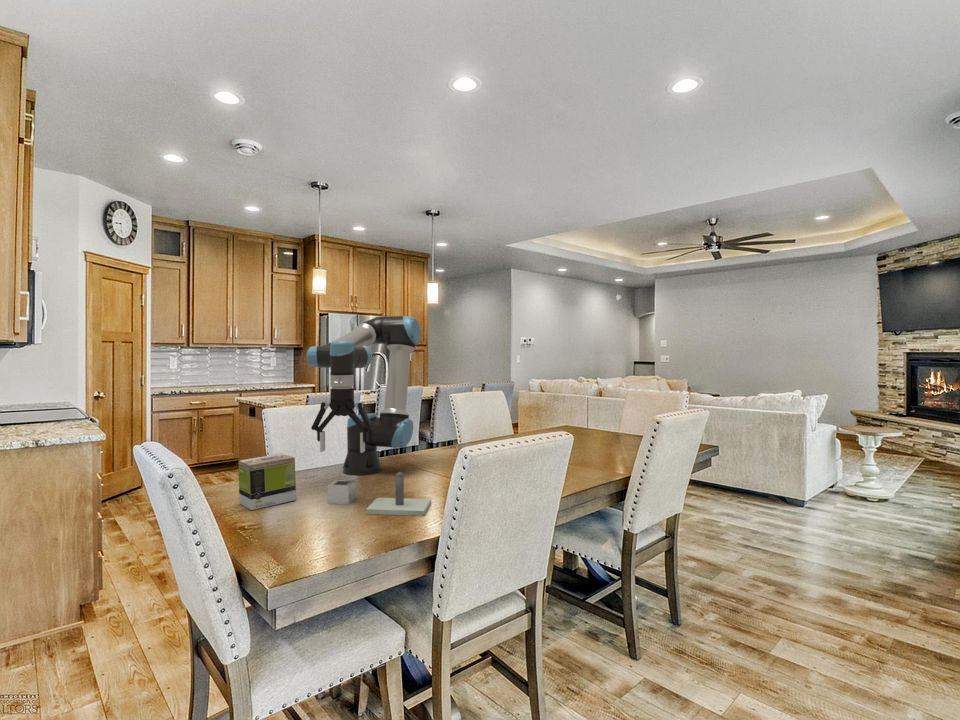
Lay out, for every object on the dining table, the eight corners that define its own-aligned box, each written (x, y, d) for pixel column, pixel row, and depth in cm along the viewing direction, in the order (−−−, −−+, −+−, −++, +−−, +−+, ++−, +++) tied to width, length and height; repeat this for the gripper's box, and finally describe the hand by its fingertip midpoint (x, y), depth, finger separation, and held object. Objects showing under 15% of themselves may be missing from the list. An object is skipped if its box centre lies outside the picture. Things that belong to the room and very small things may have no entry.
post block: (377, 502, 172) (377, 466, 172) (430, 503, 171) (431, 468, 170) (366, 513, 160) (366, 476, 160) (423, 515, 159) (423, 477, 158)
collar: (335, 497, 177) (335, 479, 177) (355, 498, 176) (355, 480, 176) (327, 503, 170) (327, 485, 170) (348, 504, 170) (348, 486, 169)
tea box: (283, 494, 180) (283, 452, 180) (296, 501, 173) (296, 457, 172) (238, 504, 170) (237, 459, 169) (250, 511, 162) (249, 464, 162)
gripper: (300, 388, 169) (301, 453, 170) (376, 389, 167) (376, 454, 168) (310, 386, 177) (310, 448, 177) (382, 387, 175) (382, 449, 175)
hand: (342, 451), depth 173 cm, fingers open, 13 cm apart
